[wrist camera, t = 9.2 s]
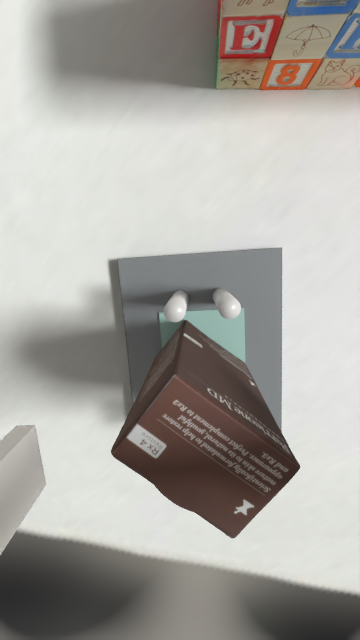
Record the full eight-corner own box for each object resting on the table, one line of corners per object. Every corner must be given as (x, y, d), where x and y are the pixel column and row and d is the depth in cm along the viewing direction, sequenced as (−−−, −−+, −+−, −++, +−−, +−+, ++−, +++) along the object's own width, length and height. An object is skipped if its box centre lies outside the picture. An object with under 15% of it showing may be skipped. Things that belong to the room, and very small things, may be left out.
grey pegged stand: (140, 443, 25) (118, 510, 18) (121, 259, 22) (87, 257, 15) (277, 439, 24) (309, 508, 18) (278, 248, 21) (316, 241, 14)
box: (248, 359, 22) (308, 472, 10) (212, 401, 23) (228, 550, 11) (185, 312, 21) (173, 373, 10) (151, 357, 22) (100, 463, 11)
